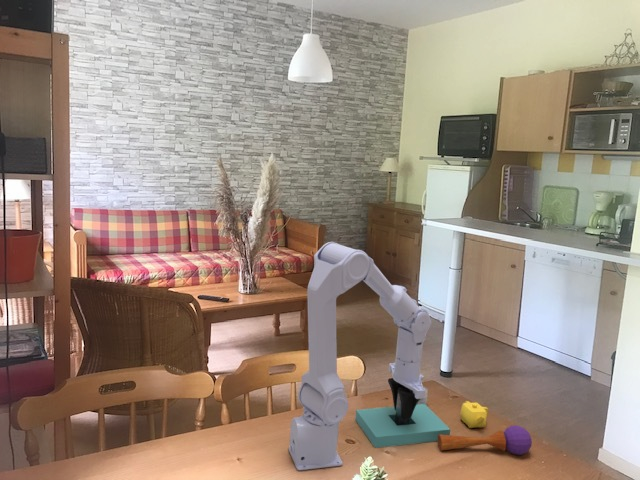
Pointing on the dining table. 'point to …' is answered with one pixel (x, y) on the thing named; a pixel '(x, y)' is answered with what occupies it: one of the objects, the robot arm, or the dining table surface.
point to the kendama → (491, 440)
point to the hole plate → (400, 426)
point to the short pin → (424, 400)
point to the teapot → (474, 414)
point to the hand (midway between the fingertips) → (402, 413)
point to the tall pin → (398, 418)
